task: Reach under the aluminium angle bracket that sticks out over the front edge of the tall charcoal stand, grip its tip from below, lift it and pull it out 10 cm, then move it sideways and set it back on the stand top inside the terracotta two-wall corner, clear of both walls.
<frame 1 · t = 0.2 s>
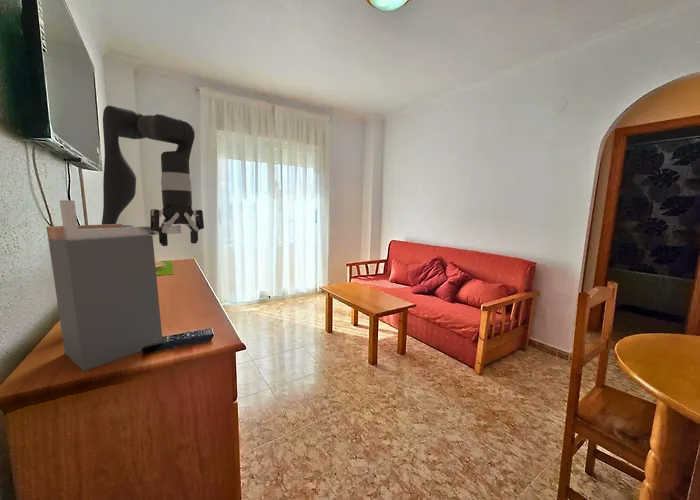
hand: (179, 244, 88), 29 cm above the table, tool pointing down, fingers open, 8 cm apart
charcoal stand: (115, 348, 84), on the table
aluminium bracket: (129, 236, 82), point 32 cm above the table, touching charcoal stand
beverage cup: (107, 301, 128), on the table
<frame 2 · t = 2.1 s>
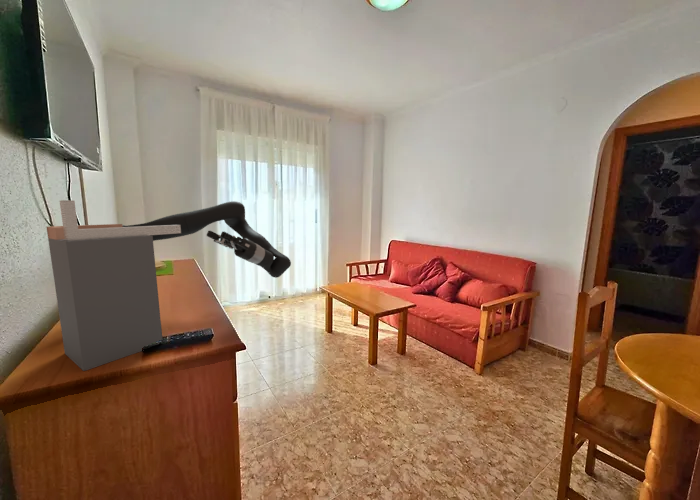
hand: (214, 233, 102), 31 cm above the table, tool pointing upward, fingers open, 8 cm apart
nothing on the table moved.
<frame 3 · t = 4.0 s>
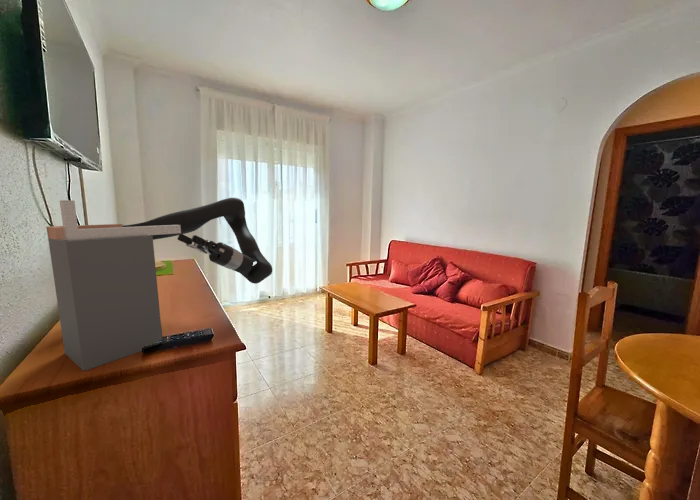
hand: (185, 237, 94), 31 cm above the table, tool pointing upward, fingers open, 8 cm apart
nothing on the table moved.
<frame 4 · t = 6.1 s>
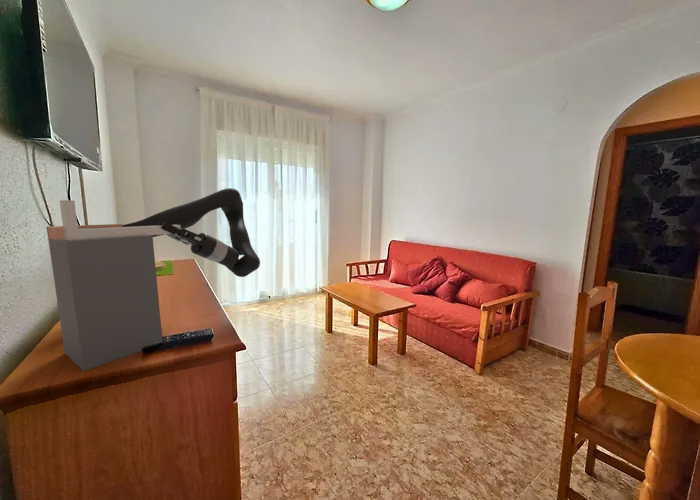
hand: (160, 225, 88), 35 cm above the table, tool pointing upward, fingers closed on aluminium bracket, 3 cm apart
aluminium bracket: (129, 236, 82), point 32 cm above the table, touching charcoal stand, gripper
everything else where it was.
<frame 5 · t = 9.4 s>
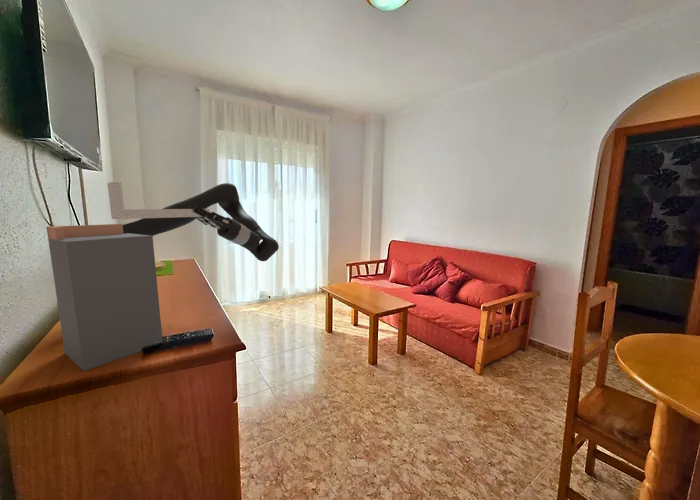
hand: (192, 208, 95), 40 cm above the table, tool pointing upward, fingers closed on aluminium bracket, 3 cm apart
aluminium bracket: (166, 217, 89), point 37 cm above the table, touching gripper
everything else where it was.
when the fingers open (36 cm above the table, at t = 12.9 s): aluminium bracket drops 1 cm, resting on charcoal stand.
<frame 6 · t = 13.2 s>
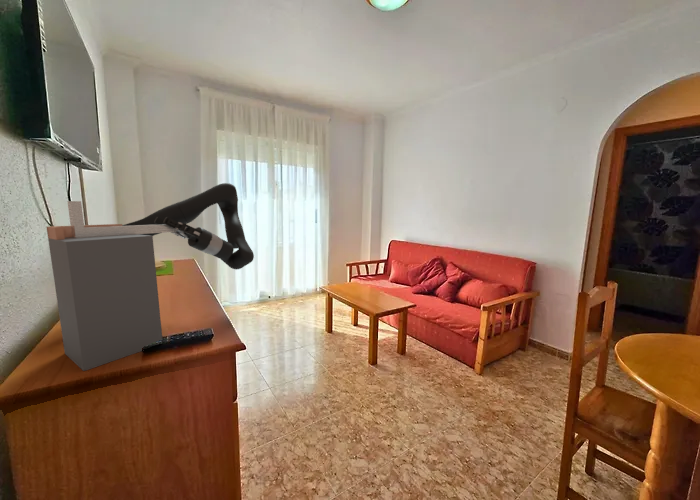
hand: (160, 219, 95), 36 cm above the table, tool pointing upward, fingers open, 5 cm apart
aluminium bracket: (131, 234, 88), point 32 cm above the table, touching charcoal stand
everything else where it was.
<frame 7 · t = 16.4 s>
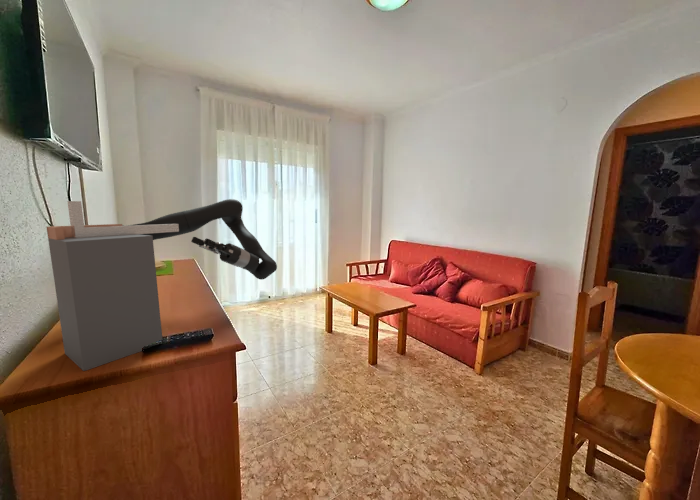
hand: (198, 240, 106), 28 cm above the table, tool pointing upward, fingers open, 8 cm apart
nothing on the table moved.
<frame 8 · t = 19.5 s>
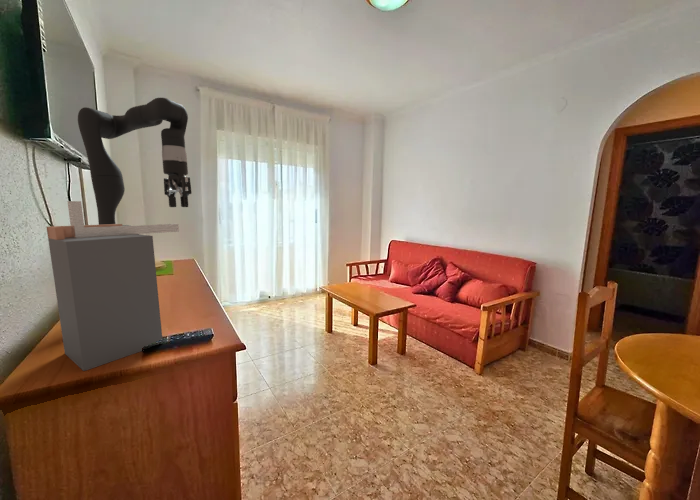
hand: (178, 207, 106), 40 cm above the table, tool pointing down, fingers open, 8 cm apart
nothing on the table moved.
at the end: aluminium bracket inside the target area (0.3 cm from its centre), point 32.0 cm above the table; aluminium bracket tilted 0°; the gripper is holding nothing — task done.
